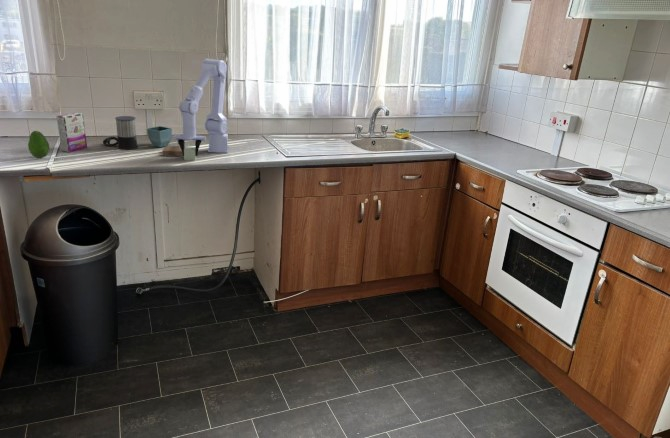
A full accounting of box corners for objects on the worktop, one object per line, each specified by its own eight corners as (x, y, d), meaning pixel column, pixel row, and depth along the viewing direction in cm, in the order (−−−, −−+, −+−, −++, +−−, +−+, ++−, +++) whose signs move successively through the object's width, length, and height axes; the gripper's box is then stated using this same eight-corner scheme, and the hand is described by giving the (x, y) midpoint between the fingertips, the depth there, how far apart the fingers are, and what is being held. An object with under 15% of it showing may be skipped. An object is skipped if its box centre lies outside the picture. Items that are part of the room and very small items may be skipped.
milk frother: (138, 150, 245) (135, 119, 239) (102, 150, 239) (99, 119, 234) (137, 143, 257) (135, 113, 252) (103, 143, 251) (100, 113, 246)
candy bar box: (79, 146, 243) (75, 112, 237) (87, 147, 242) (83, 113, 236) (60, 151, 233) (55, 115, 227) (69, 152, 232) (64, 117, 226)
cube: (196, 157, 240) (196, 147, 238) (195, 160, 236) (195, 149, 234) (185, 157, 239) (185, 146, 238) (184, 159, 235) (183, 149, 233)
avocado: (28, 160, 217) (23, 132, 212) (32, 155, 224) (28, 128, 219) (48, 160, 219) (44, 132, 215) (52, 155, 226) (49, 128, 222)
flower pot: (147, 146, 253) (146, 128, 250) (160, 143, 260) (159, 125, 257) (160, 149, 249) (159, 131, 246) (173, 146, 257) (172, 128, 253)
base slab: (187, 151, 249) (186, 146, 248) (184, 156, 240) (184, 151, 239) (165, 150, 247) (165, 145, 246) (162, 155, 238) (162, 150, 237)
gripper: (171, 127, 227) (173, 157, 232) (204, 129, 230) (205, 158, 234) (173, 124, 234) (175, 153, 239) (206, 126, 236) (206, 154, 241)
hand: (190, 155), depth 237 cm, fingers closed on cube, 5 cm apart
